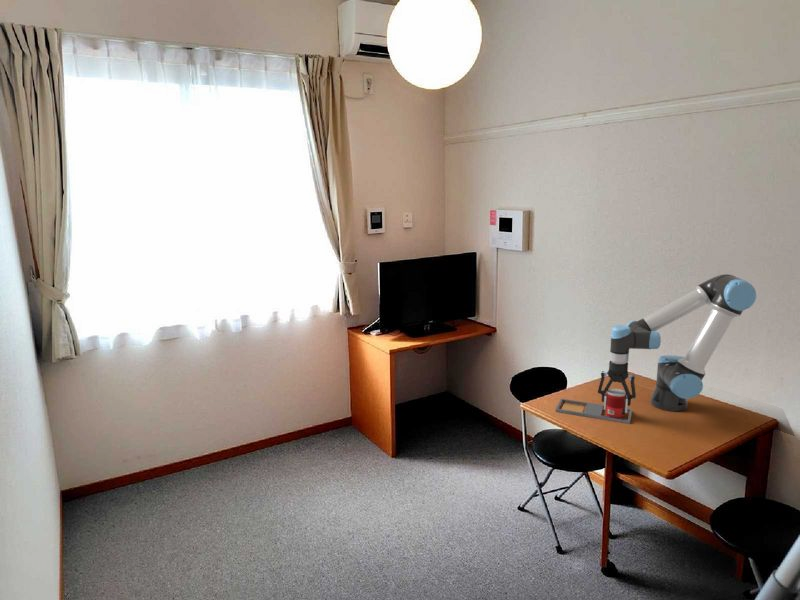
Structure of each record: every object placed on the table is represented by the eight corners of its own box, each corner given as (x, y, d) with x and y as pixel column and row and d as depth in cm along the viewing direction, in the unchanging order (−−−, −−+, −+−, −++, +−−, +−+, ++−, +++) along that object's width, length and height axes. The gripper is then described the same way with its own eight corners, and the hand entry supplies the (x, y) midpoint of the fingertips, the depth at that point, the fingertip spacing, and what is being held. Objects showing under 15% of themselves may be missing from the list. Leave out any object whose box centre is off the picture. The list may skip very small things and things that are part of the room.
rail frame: (632, 411, 244) (632, 409, 244) (629, 423, 233) (630, 421, 233) (560, 400, 258) (560, 398, 257) (555, 411, 246) (555, 409, 246)
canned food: (626, 419, 237) (628, 395, 235) (607, 418, 238) (608, 394, 236) (622, 411, 244) (624, 388, 242) (603, 411, 246) (605, 388, 243)
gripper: (645, 361, 235) (641, 410, 240) (594, 355, 244) (591, 403, 249) (644, 367, 228) (640, 417, 233) (592, 360, 237) (589, 409, 242)
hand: (615, 410), depth 241 cm, fingers closed on canned food, 8 cm apart
